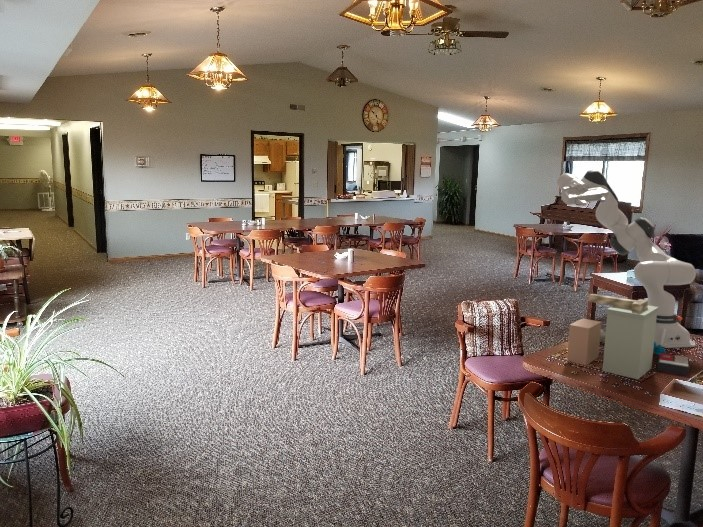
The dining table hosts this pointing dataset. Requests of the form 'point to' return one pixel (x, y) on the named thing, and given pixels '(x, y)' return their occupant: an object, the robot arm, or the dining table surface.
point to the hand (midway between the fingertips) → (594, 202)
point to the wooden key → (619, 302)
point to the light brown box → (584, 341)
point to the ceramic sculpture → (602, 335)
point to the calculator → (673, 364)
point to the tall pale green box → (629, 341)
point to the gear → (658, 349)
